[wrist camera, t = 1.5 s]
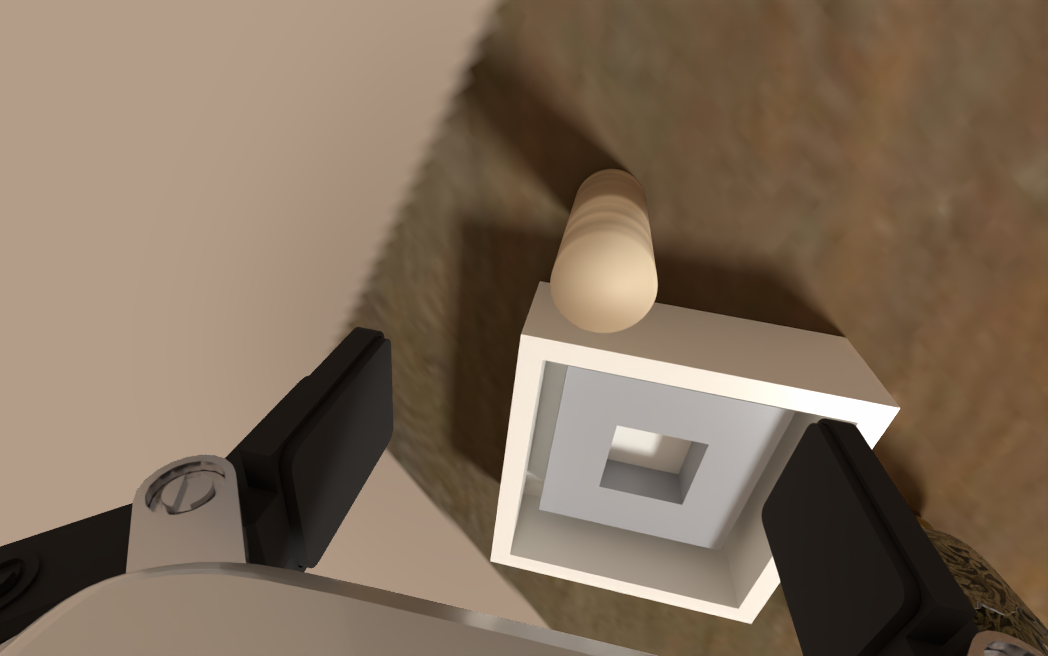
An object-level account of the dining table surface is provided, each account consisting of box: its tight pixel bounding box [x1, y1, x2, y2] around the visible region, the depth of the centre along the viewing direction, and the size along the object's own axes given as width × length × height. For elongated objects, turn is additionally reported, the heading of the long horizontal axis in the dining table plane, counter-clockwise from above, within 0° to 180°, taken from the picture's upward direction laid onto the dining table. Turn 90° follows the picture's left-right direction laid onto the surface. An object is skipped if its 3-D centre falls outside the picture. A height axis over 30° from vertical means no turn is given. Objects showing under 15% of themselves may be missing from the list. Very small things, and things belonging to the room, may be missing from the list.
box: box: [491, 281, 900, 624], centre depth 29 cm, size 18×17×6 cm
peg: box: [550, 169, 658, 333], centre depth 21 cm, size 4×4×10 cm
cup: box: [914, 514, 1048, 656], centre depth 29 cm, size 8×7×8 cm
